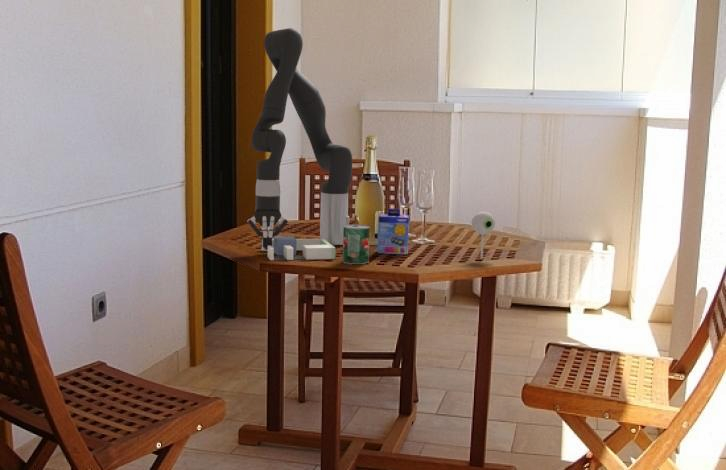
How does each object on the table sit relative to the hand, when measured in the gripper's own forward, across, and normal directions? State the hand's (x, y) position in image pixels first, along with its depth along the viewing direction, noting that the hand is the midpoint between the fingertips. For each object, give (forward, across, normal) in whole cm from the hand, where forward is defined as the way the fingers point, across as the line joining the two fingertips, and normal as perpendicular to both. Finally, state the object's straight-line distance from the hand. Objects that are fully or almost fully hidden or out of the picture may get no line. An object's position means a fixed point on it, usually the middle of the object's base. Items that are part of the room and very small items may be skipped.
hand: (267, 249), depth 288 cm
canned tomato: (+2, -24, +17) cm, 30 cm away
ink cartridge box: (+2, -40, +2) cm, 40 cm away
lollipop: (+2, -66, +16) cm, 67 cm away
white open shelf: (+2, -9, +2) cm, 10 cm away
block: (+2, -6, 0) cm, 6 cm away
